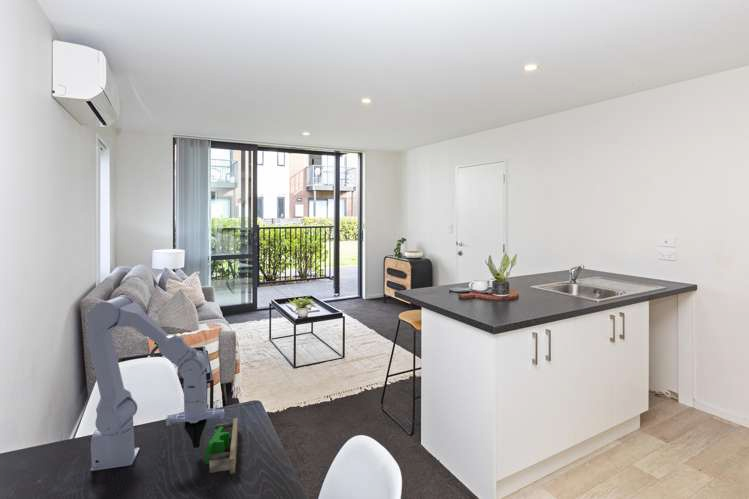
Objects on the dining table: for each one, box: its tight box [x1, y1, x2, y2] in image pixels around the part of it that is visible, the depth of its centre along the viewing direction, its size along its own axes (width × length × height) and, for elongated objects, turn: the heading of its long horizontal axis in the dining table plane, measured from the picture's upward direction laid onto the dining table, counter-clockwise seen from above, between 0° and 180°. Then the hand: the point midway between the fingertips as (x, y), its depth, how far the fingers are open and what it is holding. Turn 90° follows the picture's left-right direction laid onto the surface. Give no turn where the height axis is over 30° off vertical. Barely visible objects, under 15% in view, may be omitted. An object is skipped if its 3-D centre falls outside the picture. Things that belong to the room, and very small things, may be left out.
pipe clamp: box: [204, 427, 231, 465], centre depth 114 cm, size 11×4×5 cm, turn 2°
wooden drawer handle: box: [208, 417, 239, 475], centre depth 114 cm, size 6×22×4 cm, turn 16°
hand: (196, 445), depth 112 cm, fingers closed
